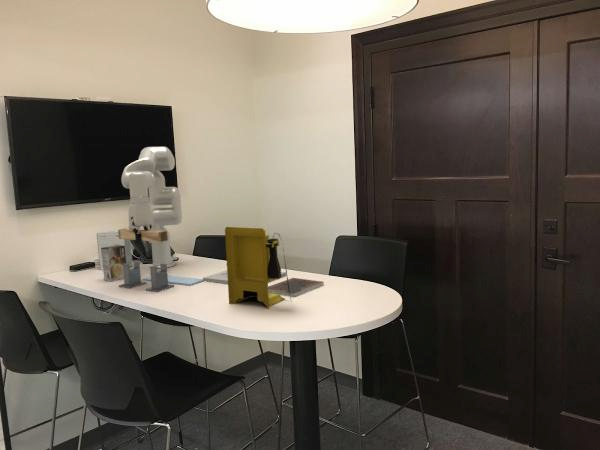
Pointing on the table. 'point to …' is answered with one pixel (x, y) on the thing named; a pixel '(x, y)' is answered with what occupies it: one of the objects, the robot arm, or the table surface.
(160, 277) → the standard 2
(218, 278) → the award plaque
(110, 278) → the coffee box
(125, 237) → the rail
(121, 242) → the hard drive box
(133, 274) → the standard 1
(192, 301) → the table surface
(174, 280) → the pad
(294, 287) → the picture frame
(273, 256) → the vintage telephone
